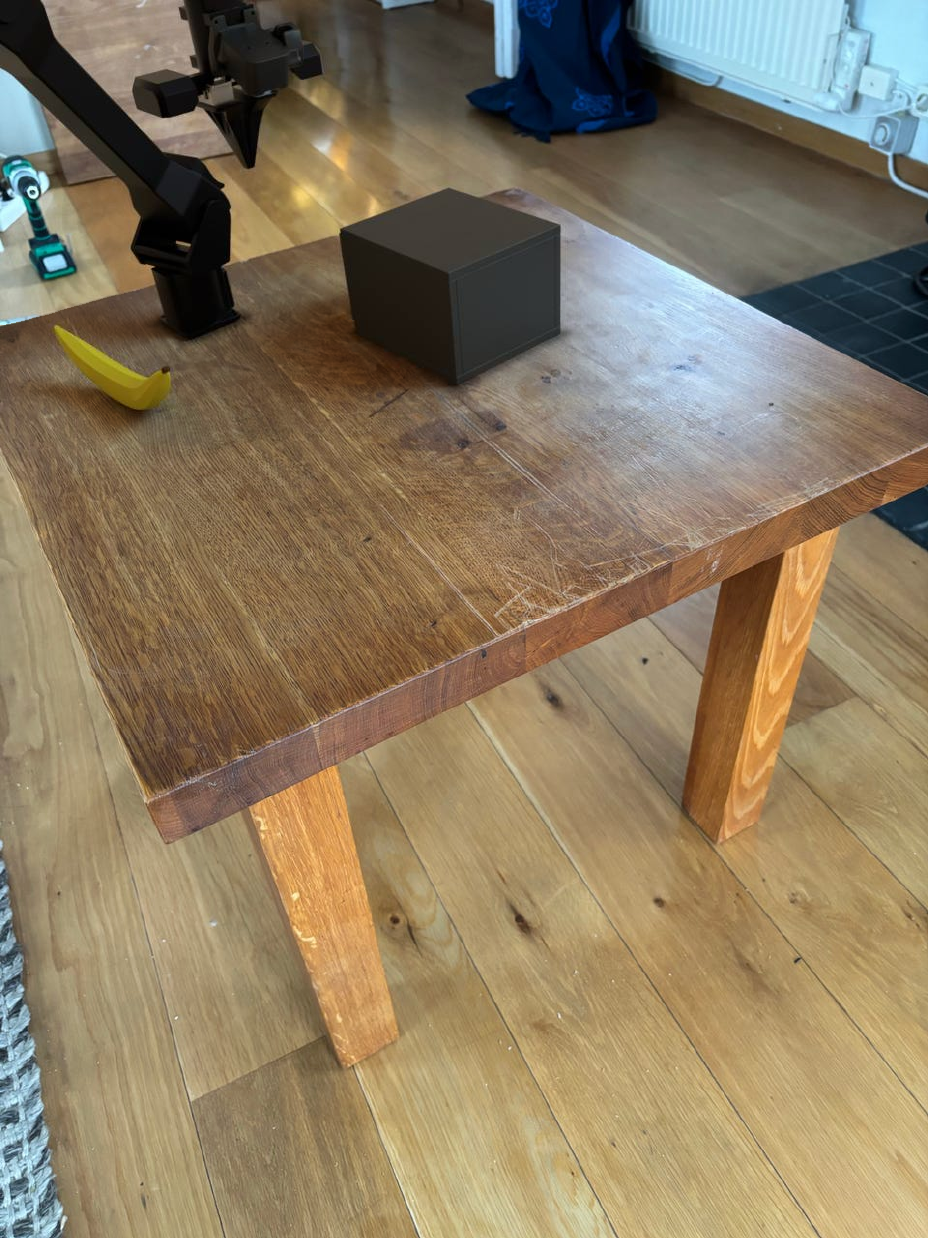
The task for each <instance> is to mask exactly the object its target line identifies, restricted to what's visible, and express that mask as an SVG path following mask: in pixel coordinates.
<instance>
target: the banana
mask: <svg viewBox="0 0 928 1238" xmlns="http://www.w3.org/2000/svg"><path fill="white" fill-rule="evenodd" d="M53 330H54V333H55V337H56V339H57V341H58V343H59V344H60V346H61V348H62V349H63V351H64V352H65V354H66V356H67V357H68V359H69V360H71V362H72V363H73V364H74V365H75V366H76V368H77V369H78V370H79V371H80V372H81V374H83V375H84V376H85V377H86V378H87V379H88V380H89V381H90V382H92V384H93V385H95V386H96V387H97V388H99V389H100V390H101V391H102V392H104V393H105V394H106V395H107V396H109V397H111V398H112V399H113V400H114V401H116V402H118V403H120V404H122V405H124V406H126V407H128V408H130V409H133V410H137V411H144V410H153V409H155V408H157V407H159V405H161V403H162V402H163V401H165V399H166V398H167V397H168V396H169V394H170V391H171V387H172V379H171V372H170V371H171V367H170V366H169V365H165V366H163V367H162V368H161V369H160V370H157V371H155V372H154V373H152V375H150V376H149V377H146V376H144V375H142V374H139V373H137V372H135V371H134V370H131V369H129V368H128V367H125V366H124V365H123V364H121V363H119V362H117V361H116V360H114V359H113V358H111V357H109V356H108V355H106V354H105V353H103V352H102V351H100V349H97V348H96V347H94V346H93V345H91V344H89V343H88V342H86V341H85V340H83V339H81V338H79V337H78V336H76V335H75V334H73V333H71V332H70V331H67V330H66V329H65V328H62V327H61V326H59V325H56V324H55V325H54V326H53Z"/></svg>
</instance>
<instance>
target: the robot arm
mask: <svg viewBox="0 0 928 1238" xmlns="http://www.w3.org/2000/svg"><path fill="white" fill-rule="evenodd" d="M182 1H183V5H182V6H178V7H177V8H178V12H179V15H180V20H182V21H186V22H187V24H188V28H189V33H190V37H191V41H192V45H193V50H194V54H192V55H189V60H190V64H191V68H193V69H196V70H198V72H194V73H191V74H185V73H181V72H179V71H175V70H171V69H169V68H164V69H161V70H157V71H153V72H149V73H145V74H141V75H138V76H137V75H136V76H134V80H133V83H132V89H131V93H132V96H133V101H134V103H135V108H136V110H137V111H140V112H143V113H146V114H148V115H151V116H155V117H157V118H160V119H172V118H175V117H179V116H182V115H185V114H189V113H192V112H195V110H196V108H200V109H203V111H204V112H205V113H206V114H207V116H208V117H209V118H210V120H211V121H212V122H213V124H214V125H215V127H217V129H218V130H219V132H220V133H221V135H222V136H223V137H224V140H225V141H226V142H227V144H228V146H229V147H230V149H231V150H232V152H233V154H234V155H235V156H236V158H237V160H238V162H239V164H241V166H242V167H243V168H244V169H245V170H251V169H254V168H255V167H256V161H257V151H258V146H259V145H258V144H259V135H260V129H261V123H262V119H263V114H264V110H265V109H266V107H267V106H268V104H269V103H270V101H271V100H273V98H276V97H278V96H279V89H280V90H284V89H286V88H288V87H289V86H290V74H292V75H293V76H294V77H296V78H297V80H300V81H305V80H308V79H313V78H315V77H319V76H322V75H324V73H325V70H324V63H323V56H322V53H321V51H320V50H319V48H318V47H317V45H316V44H315V43H314V42H311V41H307V40H302V35H301V31H300V28H299V27H298V26H297V25H296V24H295V23H294V22H293V21H288V22H285V23H284V22H283V23H281V24H277V25H275V26H274V27H270V28H266V29H264V28H262V26H261V23H260V21H259V18H258V14H257V10H256V9H255V5H254V3H253V2H248V1H246V0H182ZM0 69H1V70H3V71H4V72H6V73H7V74H9V75H11V76H12V77H13V78H14V79H15V80H16V81H17V82H18V83H19V84H20V85H21V86H22V87H23V88H24V89H25V90H26V91H28V93H30V94H31V95H32V96H33V97H34V98H35V99H36V100H37V101H38V102H39V103H41V105H42V106H43V107H44V108H45V109H46V110H47V111H48V112H50V114H51V115H53V117H55V118H56V119H57V120H58V121H59V122H60V123H61V125H63V126H64V127H65V128H66V129H67V130H68V131H69V132H70V133H71V134H72V135H73V136H74V137H75V138H77V140H78V141H80V143H82V144H83V145H84V146H85V147H86V148H87V149H88V150H89V151H90V152H91V153H92V154H93V155H94V156H95V157H96V158H97V159H98V160H99V161H101V162H102V164H104V166H105V167H106V168H108V169H109V170H110V171H111V172H112V173H113V174H114V176H116V177H117V178H118V180H120V181H121V182H122V183H123V184H124V185H125V186H126V188H127V190H128V192H129V196H130V201H131V204H132V208H133V209H134V210H135V211H136V213H137V214H138V216H139V217H140V218H139V220H138V224H137V227H136V229H135V233H134V235H133V238H132V242H131V244H130V251H131V252H132V254H133V255H134V258H136V260H137V261H138V263H139V264H140V265H143V266H146V265H147V266H151V267H150V270H151V274H152V277H153V278H152V279H153V282H154V284H155V288H156V291H157V294H158V298H159V301H160V305H161V308H162V309H161V310H162V312H163V314H161V315H160V316H159V317H158V321H159V323H161V324H163V325H165V327H167V328H169V329H171V330H172V331H174V332H175V333H177V334H179V335H181V336H182V337H184V338H186V339H193V338H196V337H198V336H201V335H203V334H205V333H208V332H210V331H214V330H215V329H218V328H221V327H223V326H225V325H227V324H230V323H233V322H235V321H238V320H240V319H241V318H242V316H241V313H240V312H239V311H237V310H236V309H233V308H235V305H236V304H235V299H234V295H233V291H232V288H231V283H230V279H229V275H228V271H227V269H226V268H224V267H223V266H225V265H227V264H229V263H230V262H231V251H232V250H231V249H232V248H231V247H232V246H231V245H232V244H231V243H232V240H231V239H232V214H231V209H232V205H231V201H230V199H229V198H228V196H227V195H226V193H225V192H224V191H223V189H224V188H225V186H226V184H225V183H224V182H221V181H219V180H217V179H216V178H215V177H214V176H213V174H212V173H211V172H210V170H209V168H208V167H207V165H206V164H205V163H204V162H203V161H202V160H201V159H200V158H199V157H196V156H191V155H185V154H179V153H173V152H169V151H168V152H167V151H163V150H162V149H160V147H159V146H158V145H157V144H156V143H155V142H154V141H153V140H152V139H151V138H150V137H149V135H147V133H145V131H144V130H143V129H142V128H141V127H140V126H139V125H138V124H137V123H136V122H135V121H134V120H133V119H132V118H131V117H130V116H129V114H128V113H126V111H124V109H123V108H122V107H121V106H120V105H119V104H118V103H117V102H116V101H115V99H113V97H112V96H111V95H110V94H109V93H108V92H107V91H106V90H105V89H104V88H103V87H102V86H101V84H99V83H98V82H97V81H96V79H95V78H94V77H92V76H91V74H90V73H89V72H88V71H87V70H86V69H85V68H84V67H83V65H81V64H80V63H79V62H78V61H77V59H76V58H75V57H74V56H73V55H72V54H71V53H70V52H69V51H68V50H67V49H66V48H65V47H64V46H63V44H62V43H60V41H59V40H58V39H57V37H56V36H55V34H54V31H53V28H52V25H51V22H50V19H49V16H48V13H47V10H46V6H45V4H44V2H43V1H42V0H0ZM219 78H220V79H219ZM177 242H180V243H183V244H180V243H177ZM185 244H188V245H185Z"/></svg>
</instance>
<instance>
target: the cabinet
mask: <svg viewBox="0 0 928 1238" xmlns="http://www.w3.org/2000/svg"><path fill="white" fill-rule="evenodd" d="M561 227H562V225H561V224H559V223H556V222H555V221H554V222H553V221H550V220H547V219H546V218H545V219H544V218H542V217H539V216H535V215H532V214H529V213H526V212H523V211H520V210H518V209H515V208H512V207H508V206H505V205H502V204H499V203H496V202H493V201H490V200H487V199H484V198H481V197H478V196H475V195H472V194H469V193H466V192H464V191H460V190H457V189H454V188H451V187H447V188H444V189H441V190H439V191H436V192H433V193H430V194H427V195H425V196H423V197H420V198H417V199H415V200H412V201H410V202H407V203H403V204H401V205H398V206H396V207H393V208H391V209H389V210H385V211H383V212H381V213H378V214H374V215H372V216H370V217H367V218H364V219H362V220H359V221H357V222H354V223H350V224H348V225H345V226H343V227H341V228H339V233H341V240H342V246H343V253H344V259H345V266H346V273H347V279H348V286H349V292H350V299H351V305H352V312H353V319H354V320H353V325H354V331H355V334H356V335H358V336H359V337H361V338H363V339H365V340H367V341H369V342H370V343H372V344H374V345H377V346H378V347H381V348H383V349H384V350H387V351H388V352H391V353H393V354H395V355H397V356H399V357H400V358H402V359H404V360H406V361H408V362H410V363H412V364H414V365H416V366H418V367H419V368H422V369H424V370H426V371H427V372H430V373H432V374H434V375H436V376H438V377H439V378H442V379H444V380H445V381H448V382H450V383H452V384H454V385H456V386H459V385H461V384H463V383H465V382H467V381H468V380H471V379H473V378H474V377H477V376H478V375H480V374H483V373H484V372H487V371H488V370H490V369H493V368H494V367H496V366H499V365H501V364H502V363H505V362H506V361H509V360H511V359H512V358H515V357H516V356H518V355H520V354H523V353H525V352H526V351H528V350H530V349H532V348H535V347H536V346H539V345H540V344H543V343H545V342H546V341H548V340H550V339H552V338H554V337H556V336H558V335H560V334H561V331H562V330H561V327H562V326H561V289H562V288H561V287H562V286H561V284H562V283H561V282H562V281H561V278H562V277H561V276H562V275H561V274H562V273H561V269H562V268H561V264H562V263H561V258H562V257H561V256H562V253H561V252H562V251H561V248H562V247H561V245H562V244H561V242H562V241H561V240H562V239H561V238H562V237H561V236H562V234H561V233H562V229H561Z"/></svg>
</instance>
